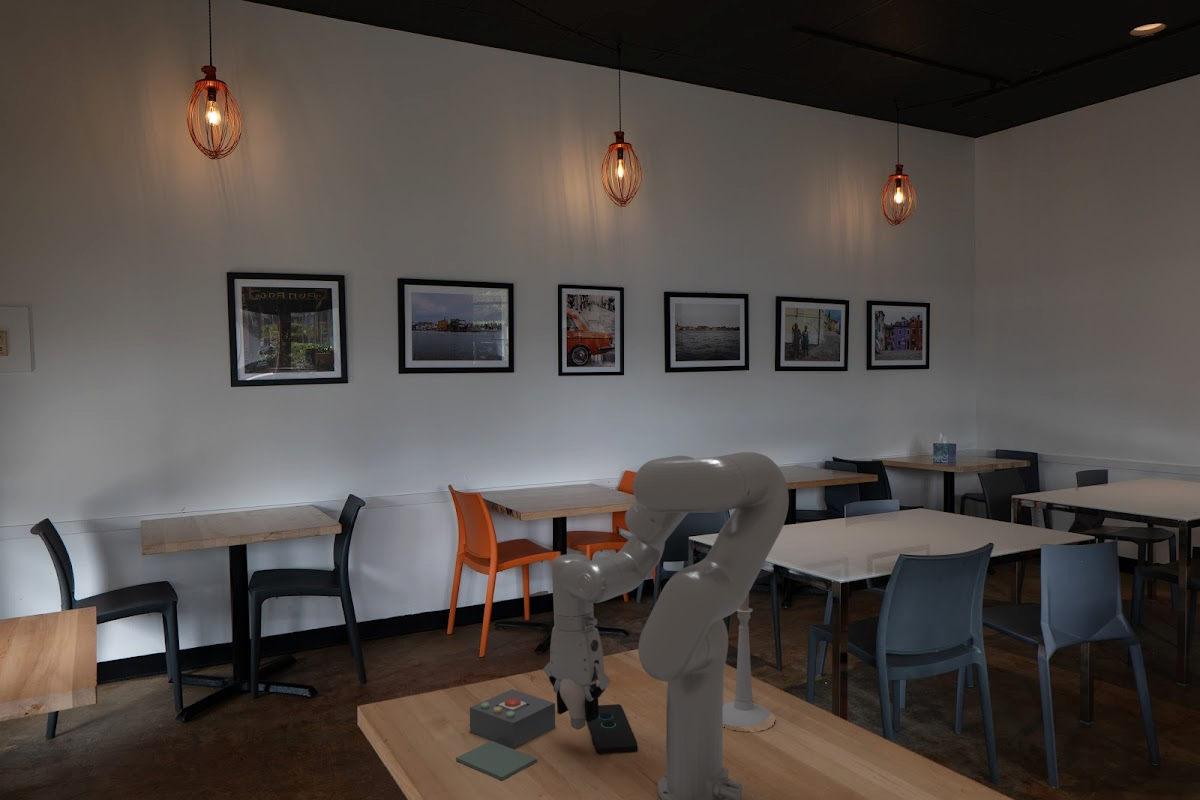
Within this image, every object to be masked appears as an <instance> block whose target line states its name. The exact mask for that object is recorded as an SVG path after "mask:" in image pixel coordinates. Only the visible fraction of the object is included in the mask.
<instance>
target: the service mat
mask: <svg viewBox="0 0 1200 800" xmlns="http://www.w3.org/2000/svg"><path fill="white" fill-rule="evenodd" d="M455 761H456V762H458V763H460V764H462V765H465V766H467V767H469V768H472V769H474V770H476V771H478V772H482V774H483V773H484V774H486V775H489V776H490V777H493V778H495V779H498V780H500V781H504V780H505V779H508V778H509V777H512V776H513V775H515V774H517V773H518V772H520V771H523V770H524V769H526V768H528V767H530V766H532V765H534V764H535V763H537V762H538V757H537V758H536V757H535V756H533V755H529V754H527V753H524V752H522V751H520V750H517V749H515V748H514V749H512V748H510V747H507V746H505V745H502V744H499V743H497V742H494V741H492V740H489V741H487V742H485V743H484V744H482V745H480V746H476V747H475V748H473V749H470V750H469V751H467V752H464V753H463V754H461V755H459V756H457V757H455Z"/></svg>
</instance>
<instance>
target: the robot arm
mask: <svg viewBox="0 0 1200 800" xmlns="http://www.w3.org/2000/svg"><path fill="white" fill-rule="evenodd" d="M632 481H633V483H632V492H633V495H634V499H635V500H634V501H633V502H632V504H631V505H630V506H629V508H628V509H627V510H626V512H625V514H624V522H625V526H626V527H627V529H628V531H629V532H630V534H631V536H630V537H629V538H628V540H627V541H626V542H625V544H624V545H623V546H622V547H621V549H619V550H618V552H617V553H612V554H610V555H609V554H608V555H607V556H603V557H599V558H597V559H593V560H591V559H590V557H589V556H587V555H586V554H579V553H568V554H560V555H558V556H556V557H555V558H554V559H553V560H552V563H551V575H552V578H551V579H552V598H553V623H554V624H553V627H552V631H551V637H550V647H549V655H550V656H549V659H550V660H549V661H548V663H546V665H545V666H544V668H543V671H544V673H545V675H546V676H547V678H548V681H549V683H550V684H551V685H552V687H553V690H552V691H553V692H554V693H556V710H557V711H556V712H557V714H558V715H563V714H564V713H566V712H569V711H568V708H567V706H566V704H565V703H564V701H563V699H562V698H561V695H560V691H559V689H560V683H561V680H563V679H571V680H573V681H574V682H575V683H577V684H580V685H583V688H584V691H585V694H586V697H587V699H588V700H586V701H585V723H587V722H591V721H593V720H594V719H596V718H598V716H599V706H598V705H599V698H600V697H601V696H602V695H603V694H604V692H605V691H606V689H607V688H608V687H609V686H610V685H611V684H612V683H611V682H612V681H611V680H610V678H609V677H608V675H607V674H606V673H605V663H604V651H603V646H602V641H601V640H602V639H601V636H600V633H599V630H598V628H597V627H596V626H597V625H598V619H597V618H595V616H594V604H598V603H602V602H605V601H608V600H612V599H613V598H616V597H619V596H621V595H624V594H627V593H630V592H632V591H634V590H635V589H637V588H638V587H639V586H640V585H641V584H643V582H644V581H645V580H646V578H648V576H649V575H650V574H651V573H652V572H653V570H654V569H655V568H656V567H657V566H658V565H659V562H660V560H661V558H662V557H663V553H664V550H665V544H666V543H665V542H666V541H667V539H668V538H669V537H670V536H671V534H672V533H673V532H674V531H675V530H676V529H677V527H678V526H679V525H680V523H681V522H682V521H683V519H685V517H686V516H688V514H689V513H693V514H694V513H695V514H696V513H698V514H701V513H702V514H704V513H706V514H708V513H710V514H713V513H721V512H726V511H732V510H734V511H733V512H732V513H731V515H730V517H729V518H728V519H727V520H726V522H725V523H724V524H723V526H722V527H721V529H720V530H719V532H718V534H717V537H716V539H715V541H714V543H713V544H712V546H711V548H710V550H709V551H708V553H707V555H706V556H705V558H703V559H702V560H700V561H699V562H696V563H695V564H691V565H688V566H687V567H686V566H685V567H684V568H681V569H679V570H678V571H677V572H675V573H674V574H673V575H672V576H671V577H670V579H669V580H668V581H667V582H666V584H665V585H664V586H663V589H662V590H661V592H660V594H659V596H658V598H657V601H656V602H655V604H654V605H653V609H652V611H651V612H650V615H648V617H647V620H646V622H645V624H644V627H643V628H642V631H641V633H640V635H639V639H638V640H639V641H638V648H637V649H638V650H637V651H638V658H639V662H640V664H641V667H642V669H643V670H644V671H645V672H646V673H647V675H648V676H650V677H651V678H653V679H655V680H657V681H660V682H667V683H666V774H664V775H663V776H662V777H660V779H659V780H658V782H657V795H658V797H659V798H660V799H661V800H742V797H743V796H742V795H743V793H742V792H743V791H742V789H743V785H742V783H739V782H736V781H732V780H731V779H730V778H729V769H728V768H726V767H724V764H723V763H724V762H723V760H724V757H723V753H724V752H723V751H724V747H723V746H724V743H723V740H724V739H723V737H724V736H723V735H724V734H723V731H724V728H723V704H724V679H725V677H724V676H725V669H726V662H727V657H728V656H727V655H728V649H729V633H728V629H727V625H726V623H725V621H724V619H725V618H727V617H729V616H731V615H732V614H734V613H735V612H736V613H737V610H738V609H739V608H740V607H741V606H742V604H743V603H744V601H745V599H746V597H747V595H748V593H749V594H750V591H751V589H752V587H753V585H754V583H755V582H756V580H757V577H758V575H759V574H760V572H761V570H762V568H763V566H764V564H765V562H766V560H767V558H768V556H769V555H770V552H771V551H772V548H773V546H774V545H775V543H776V542H777V539H778V537H779V536H780V534H781V531H782V529H783V527H784V524H785V522H786V519H787V516H788V511H789V502H790V501H789V499H790V498H789V497H790V496H789V489H788V485H787V482H786V479H785V476H784V473H783V472H782V471H781V469H780V467H779V466H778V464H777V463H775V461H774V460H772V459H771V458H770V457H768V456H767V455H765V454H762V453H759V452H755V451H754V452H753V451H748V452H746V451H745V452H736V453H730V454H724V455H719V456H718V455H717V456H713V457H702V458H701V457H699V458H693V457H691V456H688V455H674V456H667V457H661V458H656V459H654V458H653V459H651V460H648V461H647V462H645V463H644V464H643V465H642V466H640V467H639V469H638V470H637V472H636V473H635V476H634V479H633V480H632ZM598 682H599V683H598ZM590 685H591V686H592V689H593V691H591V688H590Z"/></svg>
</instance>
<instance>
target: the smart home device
mask: <svg viewBox="0 0 1200 800" xmlns="http://www.w3.org/2000/svg"><path fill="white" fill-rule="evenodd" d="M598 706H599V716H598V718H596V719H594V720H593V721H591V722H586V724H587V727H588V731H589V734H590V738H591V743H592V745H593V748H594V751H595V753H596V754H597V755H608V754H609V755H612V754H624V753H636V752H638V742H637V741H638V740H637V739H636V737H635V735H634V732H633V730H632V728H631V725H630V723H629V720H628V718H627V714H626V713H625V710H624V707H623V706H622V704H619V703H617V704H615V703H614V704H600V705H599V704H598Z"/></svg>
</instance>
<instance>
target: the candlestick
mask: <svg viewBox="0 0 1200 800" xmlns="http://www.w3.org/2000/svg"><path fill="white" fill-rule="evenodd" d="M753 611H754V610H753V608H751V607H750V592H749V593H748V595H747V597H746V599H745V601H744V603H743V604H742V606H741V607H740V608H739V609H738V610H737V611H736V613H737V618H738V620H739V626H738V642H737V657H736V658H737V660H736V661H737V663H736V678H735V679H736V681H735V695H734V697H735V698H734V701H730V702H726V703H723V724H727V725H730V726H735V727H736V726H739V727H746V726H752V725H757V724H759V723H761V722H763V721H765V720H766V719H767V718H768V717H769V716H770V712H769V708H767V707H765V706H764V705H761V704H758V703H755V702H754V701H753V690H752V687H753V685H752V668H751V664H752V663H751V649H750V626H749V620H750V619H751V613H752V612H753Z"/></svg>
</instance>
